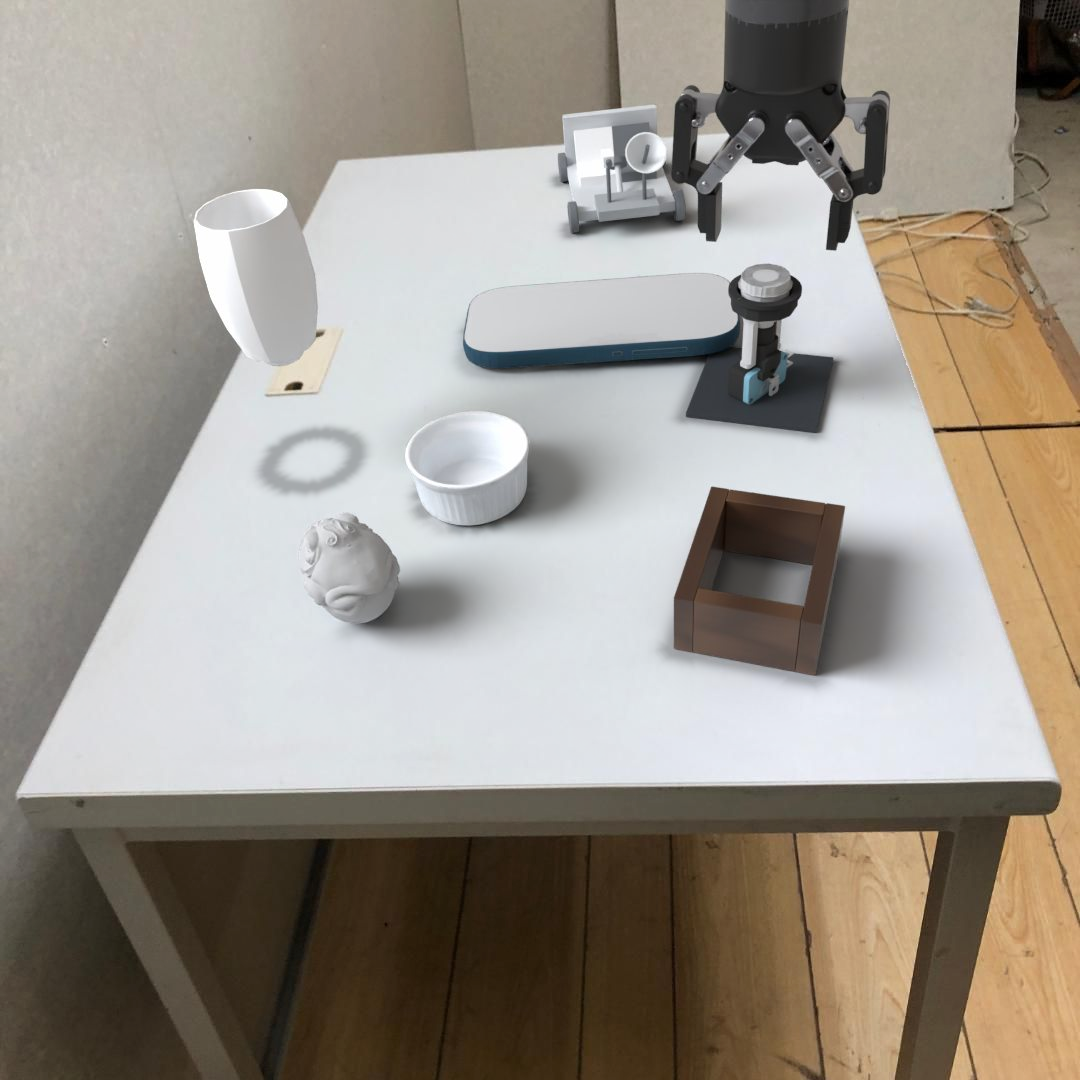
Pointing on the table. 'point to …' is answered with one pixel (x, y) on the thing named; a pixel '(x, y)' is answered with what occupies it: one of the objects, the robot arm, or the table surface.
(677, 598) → the holder
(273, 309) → the cup
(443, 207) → the table surface
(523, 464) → the ramekin
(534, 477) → the table surface
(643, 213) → the toy car
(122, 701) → the table surface
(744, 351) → the push button
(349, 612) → the frog figurine
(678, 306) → the external hard drive
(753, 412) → the mat
